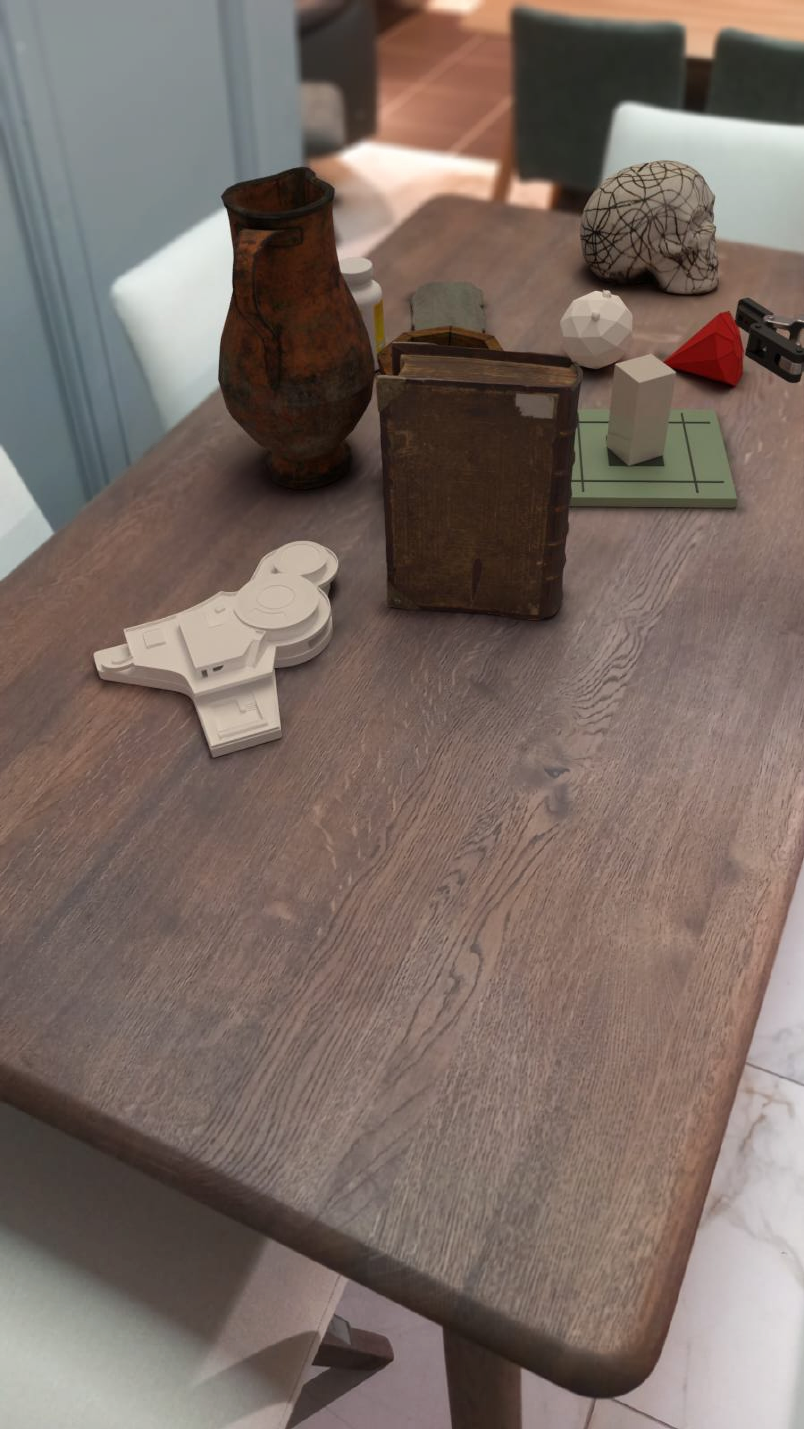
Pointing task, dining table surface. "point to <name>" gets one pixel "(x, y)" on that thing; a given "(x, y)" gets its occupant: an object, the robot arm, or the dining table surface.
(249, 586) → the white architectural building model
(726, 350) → the gemstone
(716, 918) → the dining table surface
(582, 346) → the decorative ball
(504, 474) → the book
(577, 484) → the grid board
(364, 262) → the supplement bottle
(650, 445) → the beige rectangular block
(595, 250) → the sculpture
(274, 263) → the pitcher
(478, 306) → the stone slab
